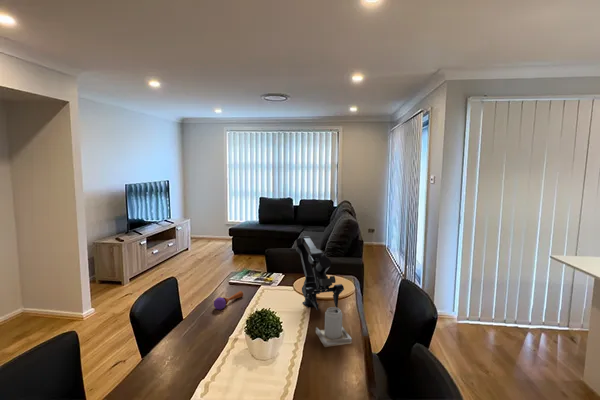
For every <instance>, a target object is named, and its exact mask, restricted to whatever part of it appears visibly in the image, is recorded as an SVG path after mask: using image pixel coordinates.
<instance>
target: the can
mask: <svg viewBox="0 0 600 400" xmlns="http://www.w3.org/2000/svg"><path fill="white" fill-rule="evenodd" d="M342 327H343V312H342V310H341V309H340V308H339V307H336V306H331V307H327V308H326V311H325V312H324V330H325V331H324V334H325V336H326V337H327V338H329V339H332V340H336V339H339V338H340V337H341V335H342Z"/></svg>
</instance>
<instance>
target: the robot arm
mask: <svg viewBox="0 0 600 400" xmlns="http://www.w3.org/2000/svg"><path fill="white" fill-rule="evenodd" d="M293 242H294V243H293V244H294V248H295V251H296V252H297V253H298V254H299V255H300V259H301V265H302V269H303V273H304V277H305V278H304V282H303V285H302V287H301V293H302V294H303V298H304V301H302V304H303V305H304V306H305V307H307V308H312V307H313V308H315V309H316V311H319V303H318V301H317V295H320V294H321V293H323V294H324V293H332V298H333V302H334V307H337V308H339V296H340V294H342V292H343V291H344V290H345V287H344V285H343V284H342V283H339V284H336V283H337V282H336V276H335V275H330V276H329V277H328V275H327V273H326V272H327V271H328V270H329V268H331V266H332V260H331V259H330V258H329V257H327V256H326V254H324V252H323V251H322V250H321V249H319V248H317V246H316V245H315V243H314V241H312V236H309V235H305V236H301V237H300V238H297V239H295V241H293ZM312 265H313V266H312ZM333 284H334V285H333Z"/></svg>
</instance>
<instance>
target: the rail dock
mask: <svg viewBox="0 0 600 400" xmlns="http://www.w3.org/2000/svg"><path fill="white" fill-rule="evenodd" d="M324 331H325V329H319V327H317V326H316V327H315V334H316V335H317V337H318V338H319V341H320V342H321V343H322V345H323V347H324V348H328V347H334V346H335V347H336V346H343V345H349V344H352V342H353V340H352V339H353V338H352V337H351V335H350V334H349V333H348V332H347V331H346V329H345V328H344V327H343V326H342V335H341V337H340V338H339V339H336V340H332V339H329V338H327V337H326V336H325V334H324Z"/></svg>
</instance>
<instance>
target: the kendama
mask: <svg viewBox="0 0 600 400" xmlns="http://www.w3.org/2000/svg"><path fill="white" fill-rule="evenodd" d="M242 297H244V292H243V290H242V291H241V290H239V291H238V292H235V294H233V295H231V296H230V297H229V298H228V297H225V296H224V297H221V296H220V297H219V296H218V297H217V298H216V299H214V300H213V307H214V308H215V309H216V310H220V311H221V310H222V309H224V308H225V307H226V306H227V305H228V303H229V302H230V301H232V300H235V299H239V298H242Z"/></svg>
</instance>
